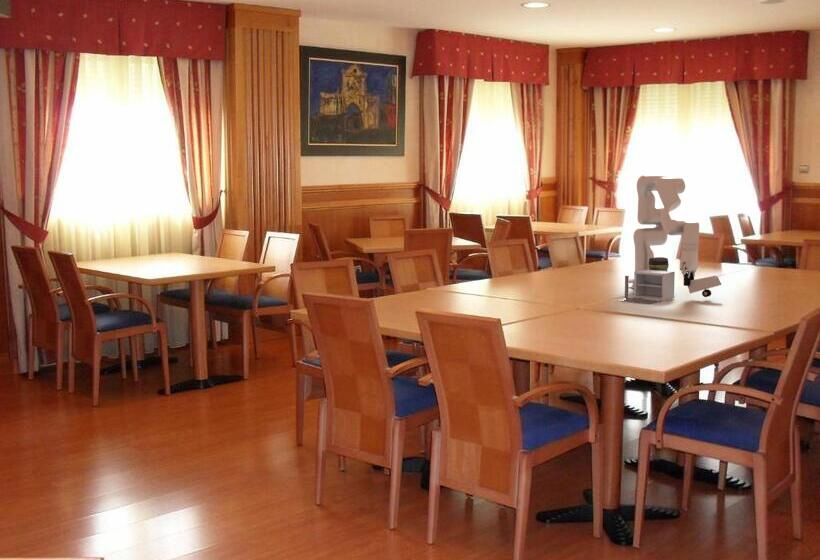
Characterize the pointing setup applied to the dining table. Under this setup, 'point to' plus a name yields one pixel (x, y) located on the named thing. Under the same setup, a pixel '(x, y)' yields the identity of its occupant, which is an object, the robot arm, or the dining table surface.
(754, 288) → the dining table surface
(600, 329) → the dining table surface
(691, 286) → the grey plank with wheel
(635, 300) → the grey l-shaped piece
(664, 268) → the coffee jar
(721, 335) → the dining table surface
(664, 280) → the cabinet
